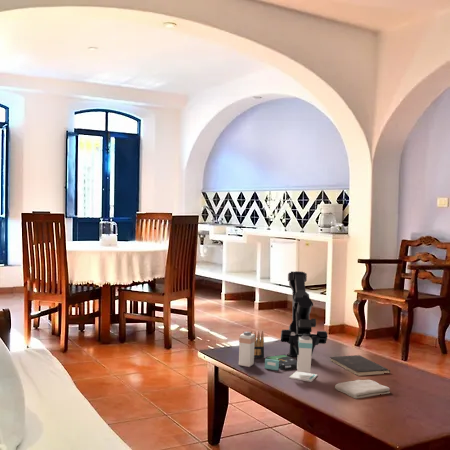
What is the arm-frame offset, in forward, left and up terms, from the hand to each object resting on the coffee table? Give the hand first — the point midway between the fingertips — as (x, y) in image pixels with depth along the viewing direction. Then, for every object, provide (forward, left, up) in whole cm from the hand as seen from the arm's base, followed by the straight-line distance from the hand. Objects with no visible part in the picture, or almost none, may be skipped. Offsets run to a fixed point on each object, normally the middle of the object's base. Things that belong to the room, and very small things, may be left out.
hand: (304, 354), depth 227 cm
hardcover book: (-28, +16, -10) cm, 34 cm away
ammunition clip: (-18, -30, -10) cm, 36 cm away
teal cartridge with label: (-5, -16, -9) cm, 19 cm away
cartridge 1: (-6, -28, -9) cm, 30 cm away
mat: (-1, -1, -9) cm, 9 cm away
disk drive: (-14, -13, -10) cm, 22 cm away
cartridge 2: (-1, -1, -7) cm, 7 cm away
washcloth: (+4, +24, -10) cm, 27 cm away
